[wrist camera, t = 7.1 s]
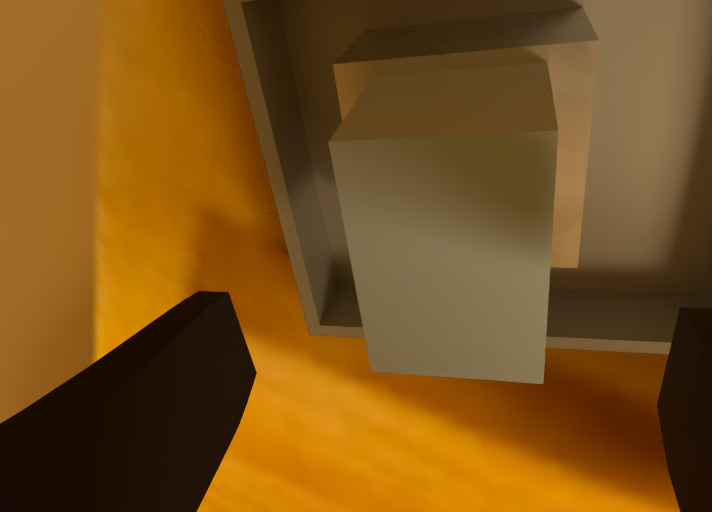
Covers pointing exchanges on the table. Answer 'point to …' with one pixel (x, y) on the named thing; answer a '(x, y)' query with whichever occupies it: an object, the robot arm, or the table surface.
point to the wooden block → (498, 48)
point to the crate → (604, 167)
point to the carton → (452, 219)
